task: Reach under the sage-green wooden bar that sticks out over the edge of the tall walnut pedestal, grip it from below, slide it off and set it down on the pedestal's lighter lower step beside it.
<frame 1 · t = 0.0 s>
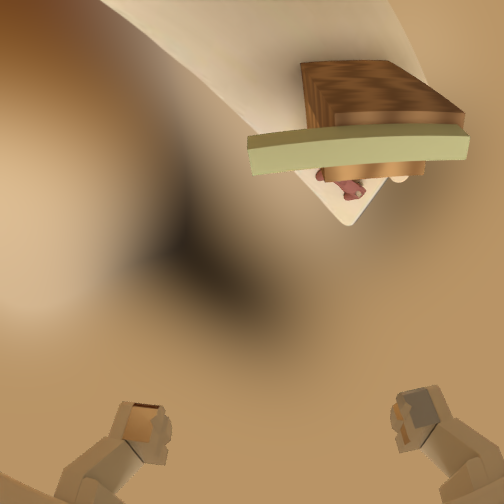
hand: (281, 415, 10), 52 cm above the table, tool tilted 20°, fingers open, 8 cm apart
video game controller: (339, 176, 63), on the table
bar: (362, 137, 30), point 25 cm above the table, touching pedestal
pedestal: (302, 78, 48), on the table
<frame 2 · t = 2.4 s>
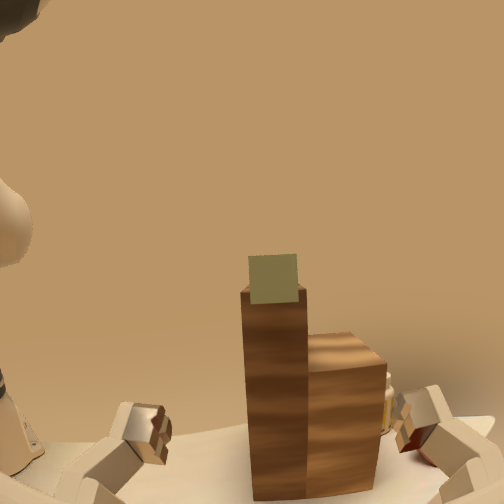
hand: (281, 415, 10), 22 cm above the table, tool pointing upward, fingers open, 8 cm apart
bar: (273, 288, 32), point 25 cm above the table, touching pedestal
supplement bottle: (374, 429, 42), on the table
pedestal: (279, 500, 28), on the table
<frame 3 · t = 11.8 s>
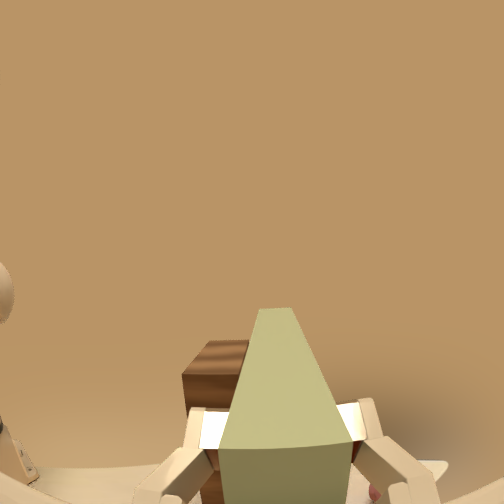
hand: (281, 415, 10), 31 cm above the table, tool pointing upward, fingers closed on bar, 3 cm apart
bar: (278, 383, 18), point 29 cm above the table, touching gripper
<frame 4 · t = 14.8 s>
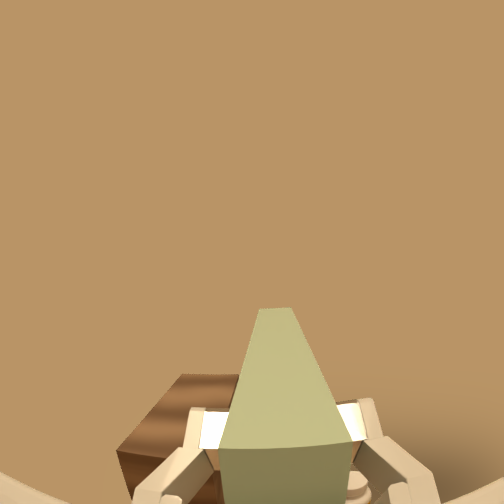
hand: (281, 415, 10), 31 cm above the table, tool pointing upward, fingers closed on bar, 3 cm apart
bar: (278, 382, 18), point 29 cm above the table, touching gripper
when the fingers open (20 cm above the table, at t = 17.6 s): bar drops 1 cm, resting on pedestal.
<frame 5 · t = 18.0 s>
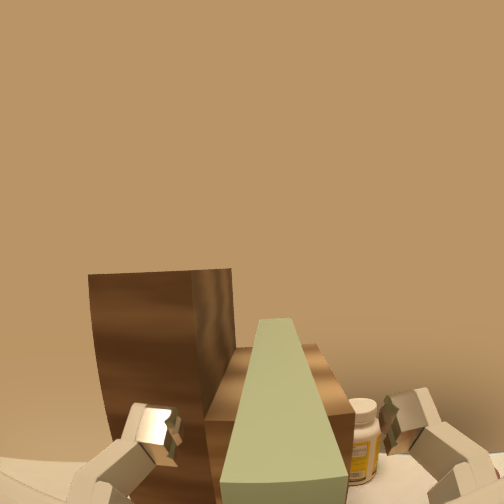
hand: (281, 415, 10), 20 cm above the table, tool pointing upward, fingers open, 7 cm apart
bar: (279, 398, 18), point 17 cm above the table, touching pedestal
supplement bottle: (352, 474, 29), on the table
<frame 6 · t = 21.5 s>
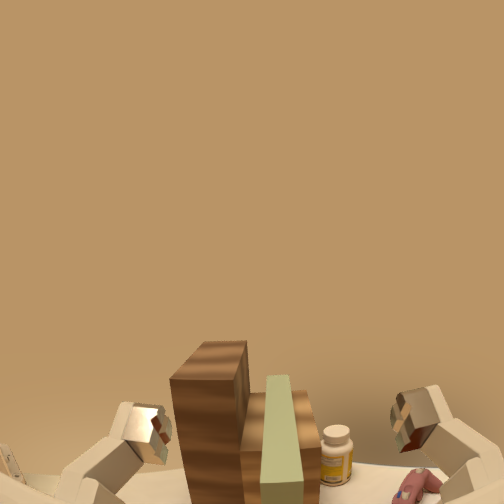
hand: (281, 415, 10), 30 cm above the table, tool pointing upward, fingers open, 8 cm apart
bar: (280, 436, 29), point 17 cm above the table, touching pedestal
supplement bottle: (333, 478, 40), on the table
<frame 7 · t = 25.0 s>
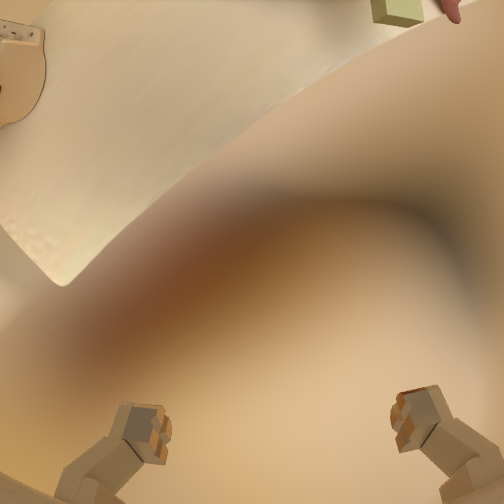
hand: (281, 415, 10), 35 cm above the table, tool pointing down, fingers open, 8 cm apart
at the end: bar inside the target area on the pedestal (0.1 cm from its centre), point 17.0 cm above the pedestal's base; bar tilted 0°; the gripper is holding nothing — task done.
